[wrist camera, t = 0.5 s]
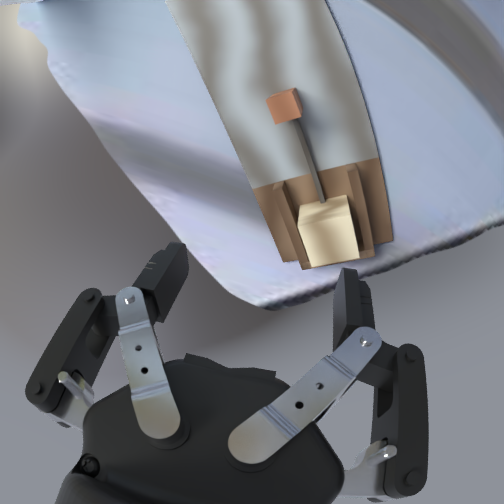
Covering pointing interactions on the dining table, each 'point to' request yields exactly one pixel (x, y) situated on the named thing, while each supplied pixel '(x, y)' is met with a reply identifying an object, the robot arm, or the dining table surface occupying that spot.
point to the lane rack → (284, 134)
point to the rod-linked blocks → (324, 211)
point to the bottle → (17, 1)
